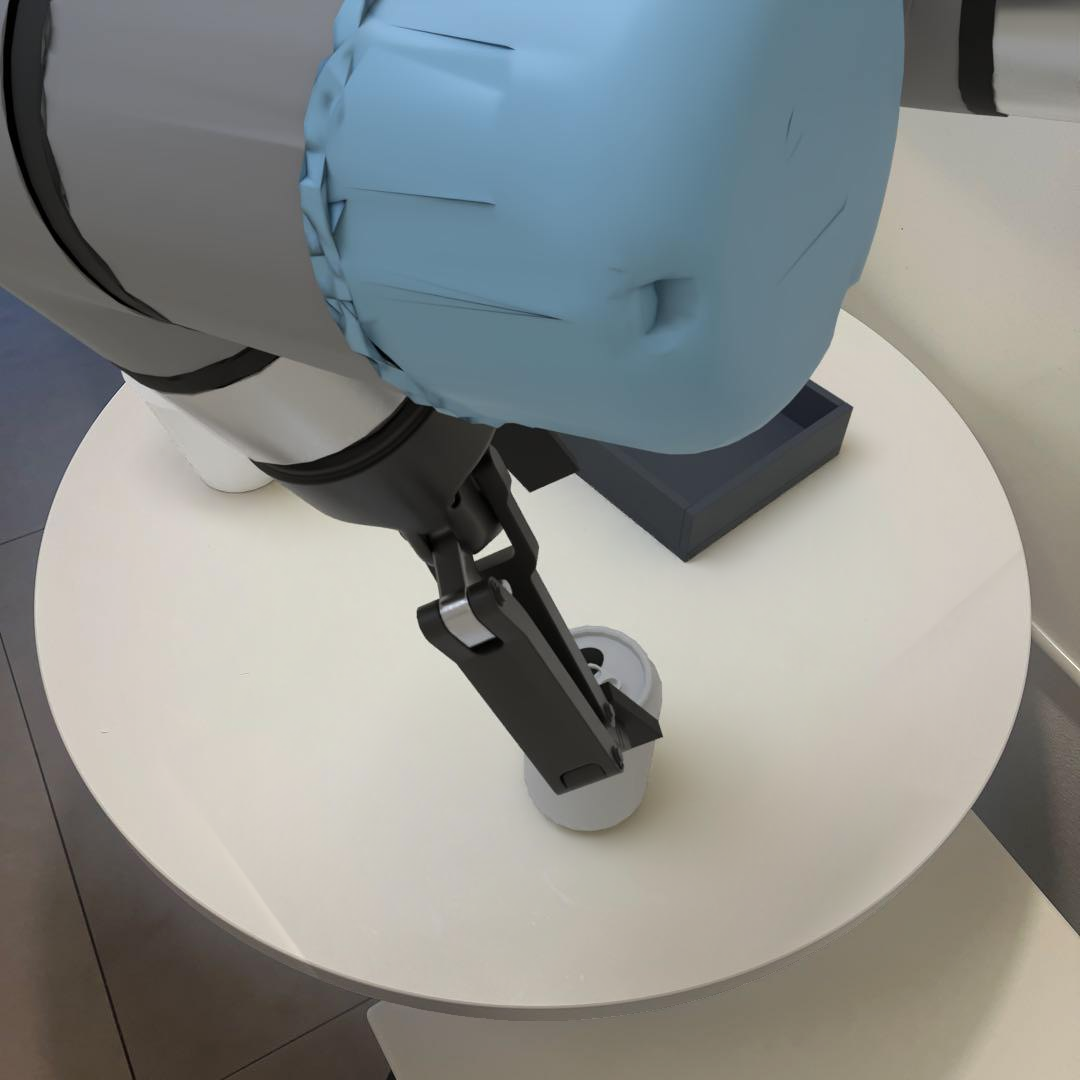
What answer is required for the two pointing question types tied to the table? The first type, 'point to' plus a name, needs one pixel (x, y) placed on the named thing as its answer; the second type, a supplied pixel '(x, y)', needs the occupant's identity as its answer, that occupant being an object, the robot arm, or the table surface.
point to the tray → (715, 472)
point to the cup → (202, 446)
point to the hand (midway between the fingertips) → (589, 598)
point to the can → (624, 792)
